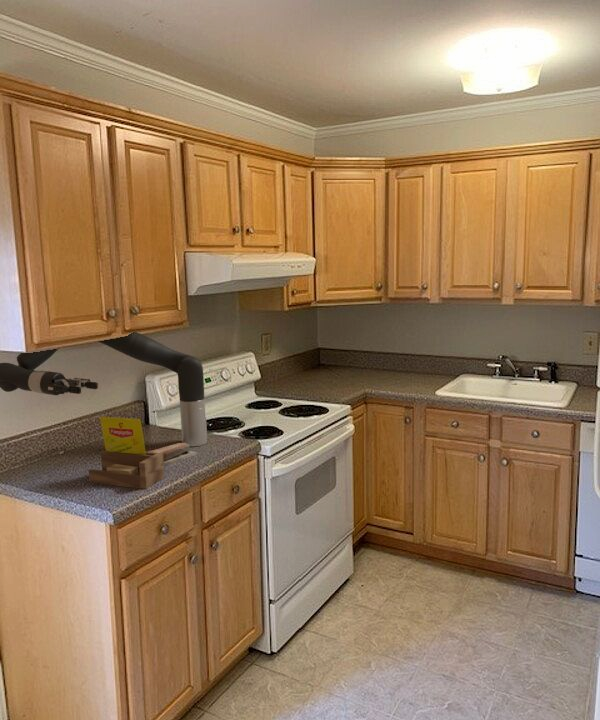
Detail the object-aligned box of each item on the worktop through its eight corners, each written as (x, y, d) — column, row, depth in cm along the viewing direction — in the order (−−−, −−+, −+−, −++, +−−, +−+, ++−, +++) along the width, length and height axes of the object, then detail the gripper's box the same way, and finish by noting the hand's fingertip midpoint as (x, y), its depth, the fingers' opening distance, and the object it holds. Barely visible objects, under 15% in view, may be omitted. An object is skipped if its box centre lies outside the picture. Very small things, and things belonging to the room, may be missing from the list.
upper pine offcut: (115, 471, 190) (115, 463, 190) (138, 474, 187) (137, 467, 186) (107, 475, 187) (106, 467, 186) (129, 478, 183) (129, 471, 183)
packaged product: (155, 456, 197) (137, 451, 203) (156, 470, 197) (138, 465, 204) (196, 443, 211) (178, 439, 217) (197, 456, 211) (179, 451, 217)
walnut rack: (109, 471, 196) (107, 448, 195) (164, 477, 189) (162, 453, 188) (89, 482, 187) (87, 458, 185) (146, 488, 180) (144, 463, 178)
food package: (108, 473, 194) (98, 417, 189) (110, 472, 195) (100, 415, 190) (148, 478, 189) (139, 419, 184) (150, 476, 190) (141, 418, 185)
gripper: (31, 374, 188) (74, 380, 183) (61, 368, 201) (102, 373, 197) (31, 397, 189) (74, 403, 184) (61, 390, 202) (102, 395, 198)
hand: (89, 388), depth 190 cm, fingers open, 8 cm apart
